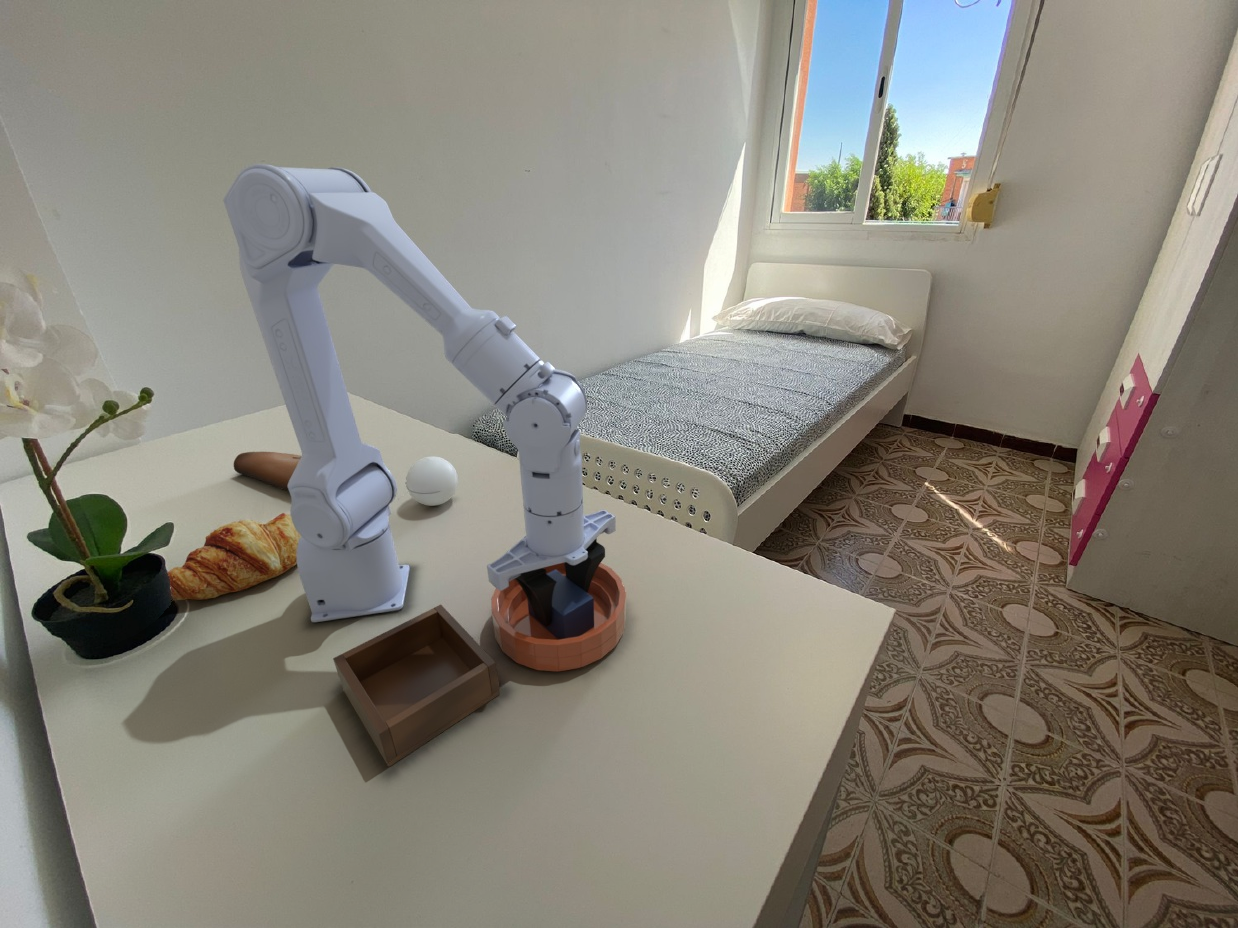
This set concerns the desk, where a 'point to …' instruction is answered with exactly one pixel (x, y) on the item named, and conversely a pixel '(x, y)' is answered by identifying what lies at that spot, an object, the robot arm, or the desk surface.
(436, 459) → the white sphere
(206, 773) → the desk surface
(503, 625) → the bowl
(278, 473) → the sunglasses case
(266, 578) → the croissant
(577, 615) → the dark blue block
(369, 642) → the box
